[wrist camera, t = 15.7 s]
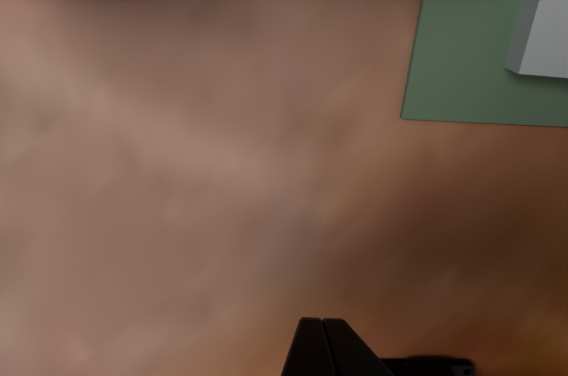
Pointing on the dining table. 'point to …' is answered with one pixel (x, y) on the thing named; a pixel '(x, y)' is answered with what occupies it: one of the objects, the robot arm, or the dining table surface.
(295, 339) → the robot arm
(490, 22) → the strip
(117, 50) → the dining table surface
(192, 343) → the dining table surface
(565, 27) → the slate domino
